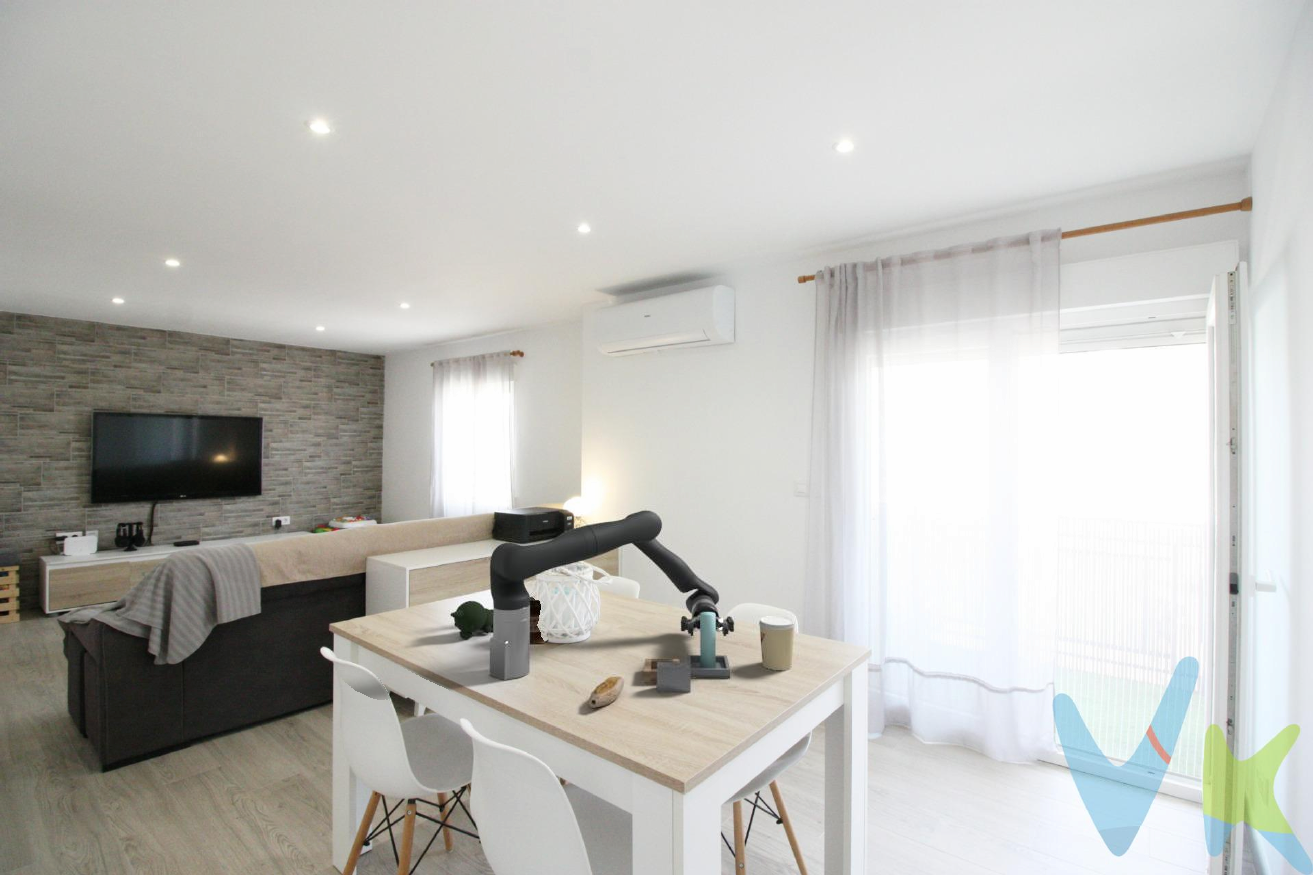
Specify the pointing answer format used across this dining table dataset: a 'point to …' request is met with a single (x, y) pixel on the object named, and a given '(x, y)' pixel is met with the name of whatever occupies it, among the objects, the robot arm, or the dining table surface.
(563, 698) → the dining table surface
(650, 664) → the socket
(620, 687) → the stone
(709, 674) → the tray
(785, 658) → the coffee cup
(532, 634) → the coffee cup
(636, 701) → the dining table surface
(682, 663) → the gray rectangular block
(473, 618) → the toy figurine
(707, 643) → the dowel
